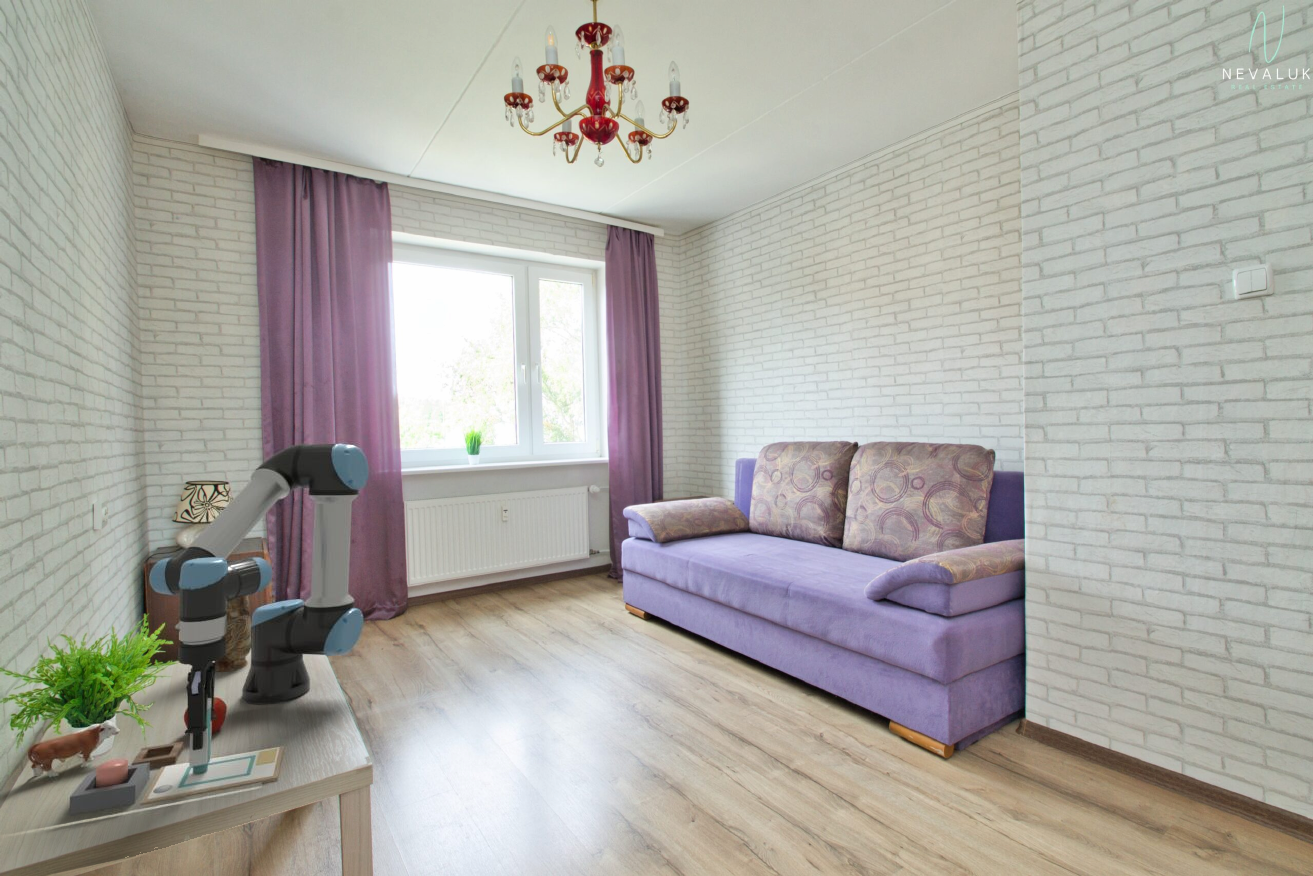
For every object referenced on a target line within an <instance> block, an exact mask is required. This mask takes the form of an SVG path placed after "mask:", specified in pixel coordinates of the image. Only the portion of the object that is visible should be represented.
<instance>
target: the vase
mask: <svg viewBox="0 0 1313 876" xmlns="http://www.w3.org/2000/svg"><path fill="white" fill-rule="evenodd" d="M249 601H250V600H249V595H247V596H244V597H240V598H237V599H234V600H231V601H227V603H226V614H227V623H226V634H225V635H224V637H225V638H226V653H225V655H224V657H222V658H221V659H219V660H216V661H214V662H216V672H229V671H234V670H238V669H241V668H245V667H246V666H247V665H248V664H249V663H248V661H247V656H248V655H249V654H250V653H251V624H252V616H251V611H250V602H249Z"/></svg>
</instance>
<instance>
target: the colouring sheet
mask: <svg viewBox="0 0 1313 876" xmlns="http://www.w3.org/2000/svg"><path fill="white" fill-rule="evenodd" d="M284 752H285V745H282V746H276V747H269V748H265V749H259V750H254V751H253V750H252V751H247V752H246V751H245V752H240V753H236V754H235V753H234V754H229V755H223V756H218V757H212V758H211V757H210V762H209V763H208V770H207V771H205V772H203V773H199V774H194V773H193V767H192V766H191V767H189V761H188V762H182V763H175V764H170V765H165V766H160V769H158V772H157V774H156V776H155V778H154V779H153V781H152V783H151V784H150V787H149V788H148V790H147V792H146V793H145V795H144V796H143V798H142V800H141V802H140V805H145V804H150V803H156V802H161V801H166V800H171V799H177V798H182V797H186V796H192V795H197V794H203V793H204V794H205V793H208V792H215V791H219V790H220V791H221V790H224V789H230V788H235V787H240V786H247V785H251V784H257V783H261V784H266V783H270V782H271V783H272V782H276V781H278V779H279V775H280V769H281V765H282V760H283V755H284Z"/></svg>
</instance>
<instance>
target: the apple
mask: <svg viewBox="0 0 1313 876" xmlns="http://www.w3.org/2000/svg"><path fill="white" fill-rule="evenodd" d="M227 709H228V706H227V704H226V703H225V701H224V700H223V699H222V698H220V697H216V696H214V712H213V713H212V715H215V714H216V719H213V720H211V721H212V728H211V735H213V734H215V733H216V732H218V731H219V730H221V728H222V726H223V725H224V722H225V720H226V717H227V716H226V715H227V711H228V710H227ZM183 721H184V724H185V726H186V730H187V729H188V707H187V708H186V709H185V712H184V715H183Z"/></svg>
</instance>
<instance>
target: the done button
mask: <svg viewBox="0 0 1313 876" xmlns="http://www.w3.org/2000/svg"><path fill="white" fill-rule="evenodd" d="M128 766H129V760H128V759H125V758H118V759H112V760H109V761H106V762H103V763H100V765H97V767H96V770H95V771H96V787H98V788H102V787H108V786H113V785H118V784H120V783H122V782H124V781H126V780H127V778H128Z"/></svg>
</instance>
